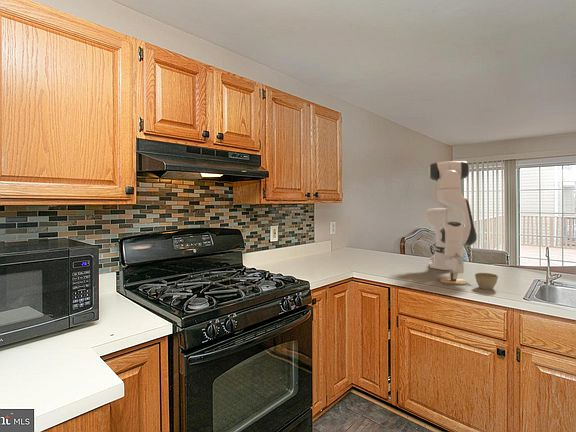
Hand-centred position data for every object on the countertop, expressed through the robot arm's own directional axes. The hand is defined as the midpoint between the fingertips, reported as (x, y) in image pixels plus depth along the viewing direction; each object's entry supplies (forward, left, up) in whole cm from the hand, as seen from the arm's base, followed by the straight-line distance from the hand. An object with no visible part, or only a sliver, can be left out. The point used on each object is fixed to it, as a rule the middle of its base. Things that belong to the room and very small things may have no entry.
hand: (453, 277), depth 184 cm
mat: (0, 0, -3) cm, 3 cm away
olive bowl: (+11, +12, -3) cm, 17 cm away
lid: (0, 0, -2) cm, 2 cm away
